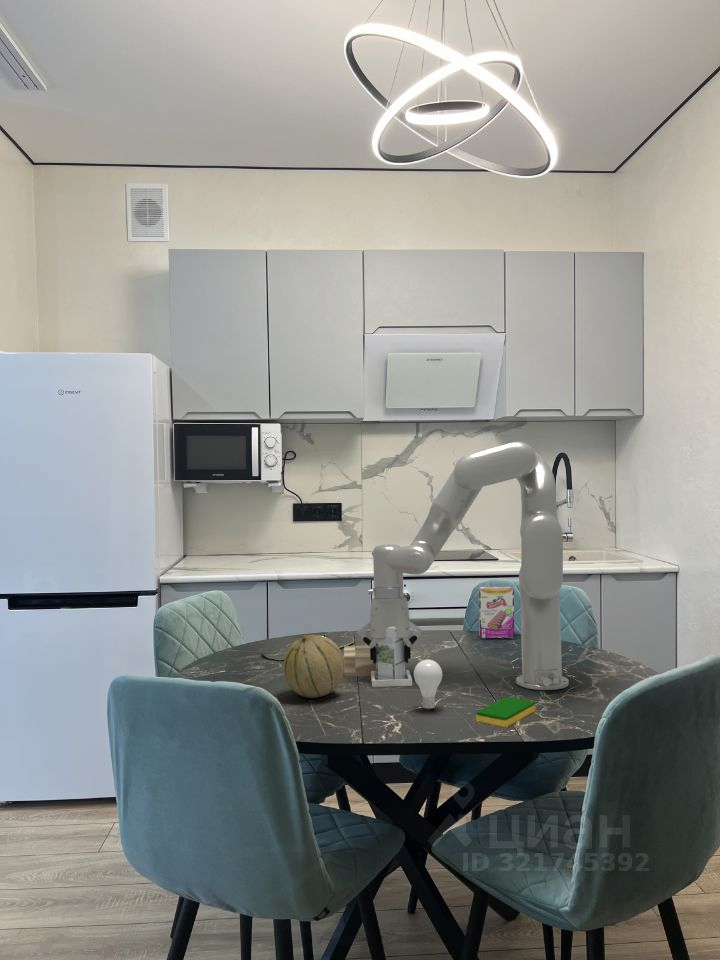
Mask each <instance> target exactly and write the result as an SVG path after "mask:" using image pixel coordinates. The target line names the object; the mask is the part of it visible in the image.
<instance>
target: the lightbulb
mask: <svg viewBox="0 0 720 960" xmlns="http://www.w3.org/2000/svg"><path fill="white" fill-rule="evenodd" d="M413 678H414V681H415V683H416V685H417V686H418V687H419V689H420V694H421V696H422V707H423V708H424V709H425V710H427V711H431V710H432V709H434V708H435V707H436V698H435V697H436V694H437V689H438V687H439V685H440V684H441V682H442V679H443V670H442V667H441V666H440V664H439V663H438V662H437V661H436V660H434V659H423V660H420V661H419V662H417V664H416V665H415V668H414V670H413Z"/></svg>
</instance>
